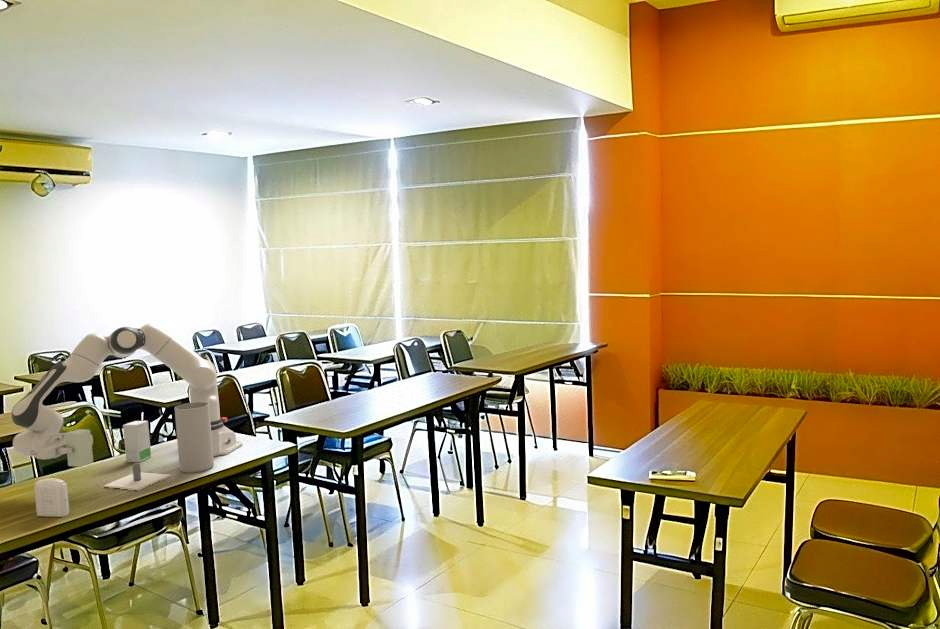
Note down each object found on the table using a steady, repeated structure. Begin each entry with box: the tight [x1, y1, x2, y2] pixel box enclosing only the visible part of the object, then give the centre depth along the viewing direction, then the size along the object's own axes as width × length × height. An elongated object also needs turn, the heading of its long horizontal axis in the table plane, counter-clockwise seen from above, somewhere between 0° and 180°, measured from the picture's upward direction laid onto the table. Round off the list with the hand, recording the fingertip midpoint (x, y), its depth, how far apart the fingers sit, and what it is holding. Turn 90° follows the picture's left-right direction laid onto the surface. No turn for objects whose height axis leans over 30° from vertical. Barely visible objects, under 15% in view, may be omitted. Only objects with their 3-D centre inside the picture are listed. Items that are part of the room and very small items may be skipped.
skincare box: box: [122, 420, 152, 463], centre depth 299 cm, size 8×7×16 cm
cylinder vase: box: [174, 402, 215, 474], centre depth 283 cm, size 12×12×25 cm
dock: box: [103, 462, 171, 492], centre depth 270 cm, size 16×16×7 cm
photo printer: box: [33, 477, 70, 518], centre depth 238 cm, size 10×4×12 cm, turn 81°
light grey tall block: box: [65, 428, 94, 468], centre depth 258 cm, size 6×6×12 cm
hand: (81, 447), depth 257 cm, fingers closed on light grey tall block, 6 cm apart
